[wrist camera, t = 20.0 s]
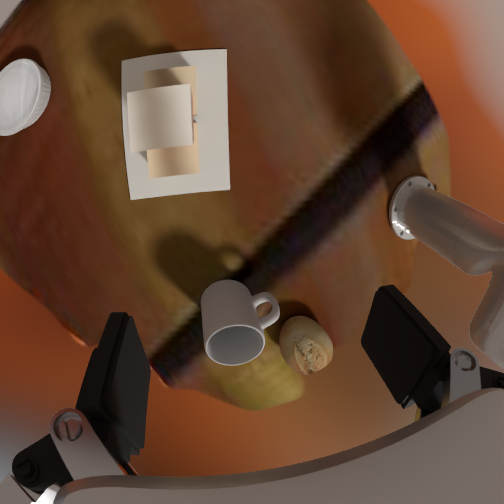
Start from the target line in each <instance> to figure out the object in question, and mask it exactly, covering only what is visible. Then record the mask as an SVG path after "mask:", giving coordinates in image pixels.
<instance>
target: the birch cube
mask: <svg viewBox="0 0 504 504" xmlns="http://www.w3.org/2000/svg"><path fill="white" fill-rule="evenodd" d="M127 106H128V125H129V139H130V150H131V153H133V152H139V151H146V150H153V149H160V148H168V147H176V146H185V145H193V142H194V141H193V120H192V92H191V85H190V84H183V85H174V86H166V87H158V88H151V89H145V90H139V91H134V92H128V93H127Z"/></svg>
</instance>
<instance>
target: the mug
mask: <svg viewBox="0 0 504 504" xmlns="http://www.w3.org/2000/svg"><path fill="white" fill-rule="evenodd" d="M266 301H268V302H270V303H271V304H272V311H271V312H270V313H269V314H268V315H266V316H263V317H258V316H257V312H256V306H258V305H259V304H261V303H263V302H266ZM201 311H202V322H203V335H204V346H205V351H206V353H207V355H208V356H209V357H210V358H211V359H212V360H213V361H215V362H217V363H219V364H222V365H240V364H244V363H247V362H249V361H251V360H253V359H254V358H256V357H257V356H258V355H259V354H260V353H261V352H262V350H263V348H264V345H265V337H264V333H263V329H264V328H266V327H268V326H270V325H271V324H273V323H274V322H276V321H277V320H278V318H279V315H280V309H279V305H278V302H277V300H276V299H275V297H274V296H273V295H272V294H270V293H269V292H262V293H259V294H257V295H254V296H252V297H251V294H250V292H249V290H248V289H247V287H246V286H245V285H243V284H242V283H240V282H238V281H235V280H221V281H217V282H215V283H213V284H211V285H210V286H208V287H207V288H206V290H205V291H204V292H203V294H202V297H201Z"/></svg>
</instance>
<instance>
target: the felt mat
mask: <svg viewBox="0 0 504 504" xmlns="http://www.w3.org/2000/svg"><path fill="white" fill-rule="evenodd" d="M183 66H196V97H197V116H193V122H194V123H197V128H198V150H199V168H200V173H196V174H185V175H176V176H167V177H159V178H151V179H149V171H148V161H147V150H146V151H139V152H133V153H131V150H130V139H129V125H128V106H127V93H128V92H134V91H139V90H144V81H143V72H144V71H151V70H158V69H165V68H174V67H183ZM122 117H123V134H124V147H125V158H126V167H127V176H128V184H129V191H130V198H131V200H135V199H142V198H150V197H158V196H167V195H176V194H185V193H195V192H206V191H218V190H230V174H229V144H228V105H227V49H215V50H195V51H183V52H173V53H165V54H157V55H150V56H144V57H139V58H133V59H128V60H123V61H122Z"/></svg>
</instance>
